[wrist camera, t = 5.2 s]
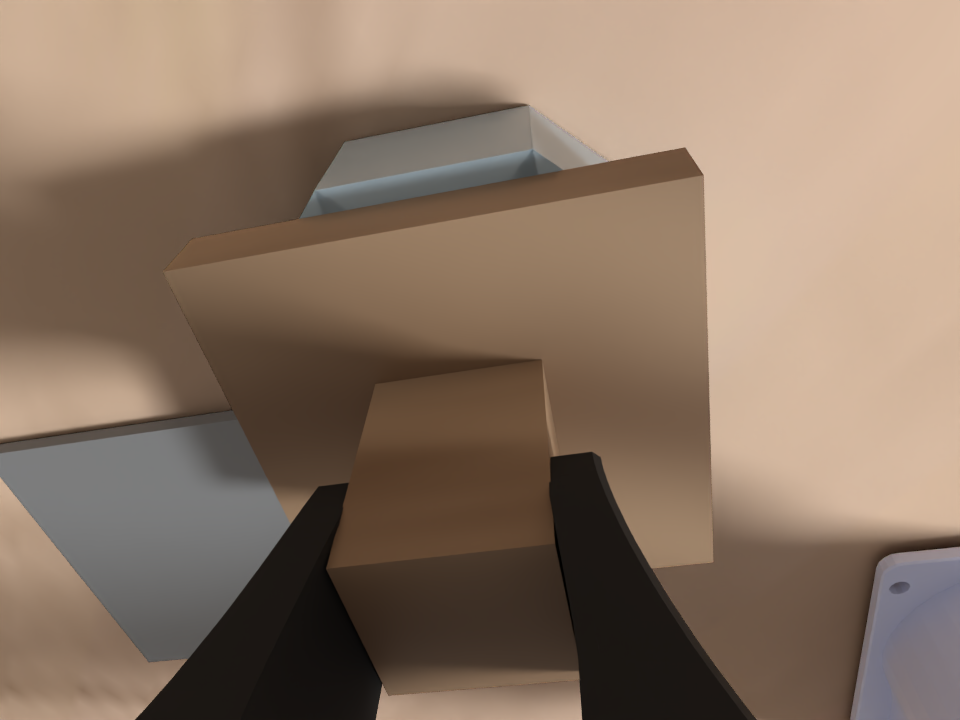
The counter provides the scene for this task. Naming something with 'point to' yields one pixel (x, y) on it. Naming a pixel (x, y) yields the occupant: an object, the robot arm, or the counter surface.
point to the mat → (153, 520)
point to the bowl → (446, 159)
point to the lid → (472, 396)
